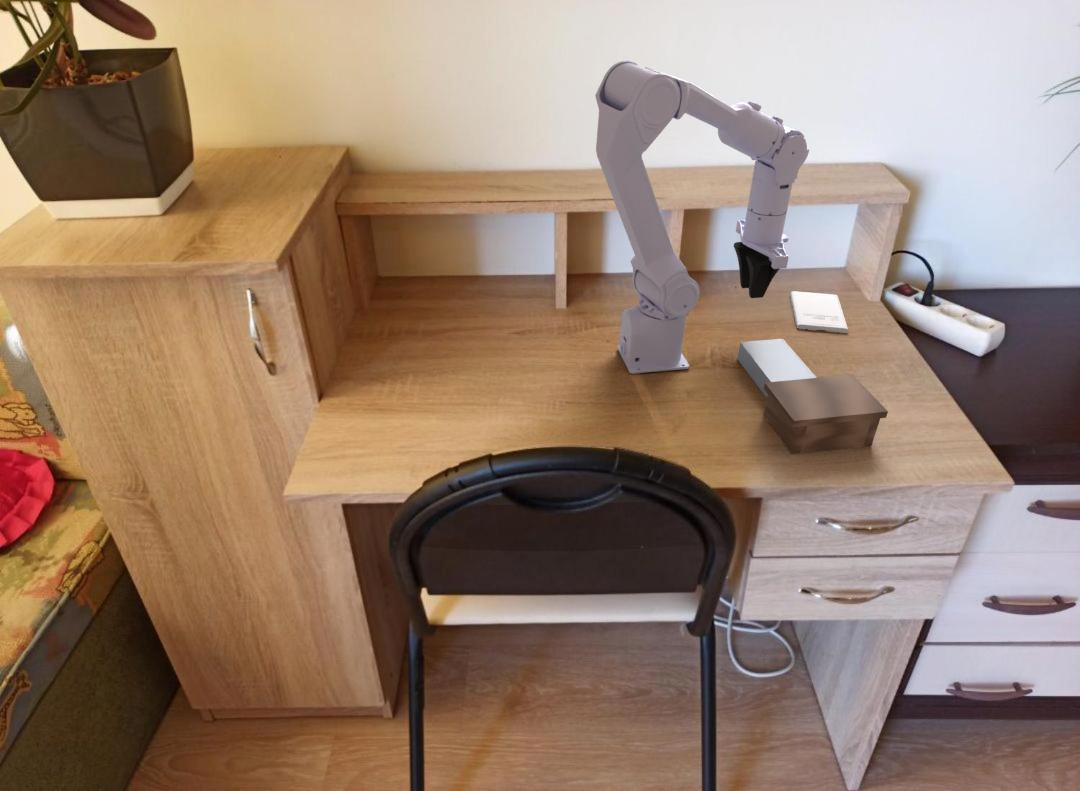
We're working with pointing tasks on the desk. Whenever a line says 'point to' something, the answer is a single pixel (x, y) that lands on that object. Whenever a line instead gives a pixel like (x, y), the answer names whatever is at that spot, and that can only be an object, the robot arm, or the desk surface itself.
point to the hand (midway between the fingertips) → (751, 291)
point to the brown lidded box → (822, 413)
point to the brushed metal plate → (771, 362)
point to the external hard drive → (818, 312)
